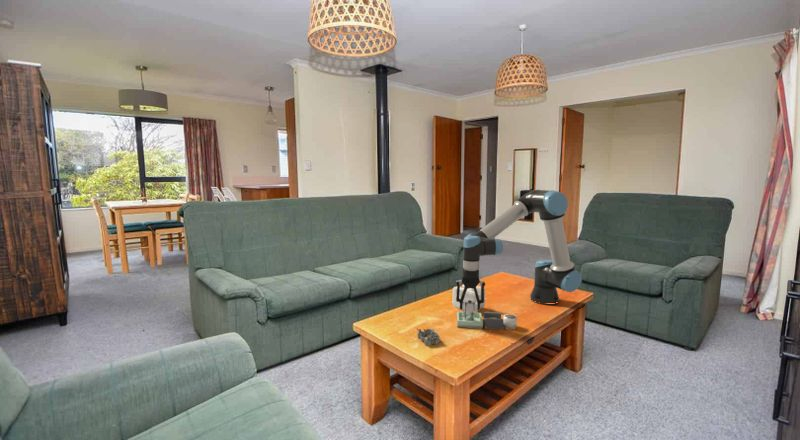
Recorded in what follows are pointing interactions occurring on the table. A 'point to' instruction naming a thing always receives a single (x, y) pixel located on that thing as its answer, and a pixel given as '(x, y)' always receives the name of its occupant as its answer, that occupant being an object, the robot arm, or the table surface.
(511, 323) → the cup
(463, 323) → the tray
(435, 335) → the dark grey lumpy ring
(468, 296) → the cable organizer
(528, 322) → the table surface
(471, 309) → the steel cell
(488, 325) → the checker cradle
